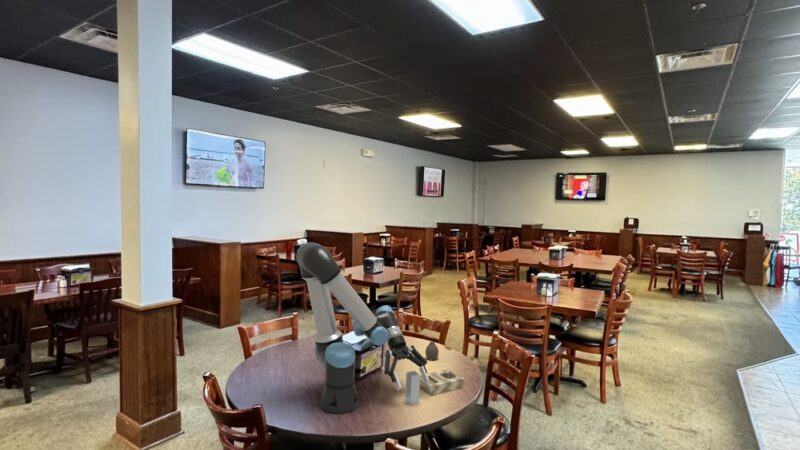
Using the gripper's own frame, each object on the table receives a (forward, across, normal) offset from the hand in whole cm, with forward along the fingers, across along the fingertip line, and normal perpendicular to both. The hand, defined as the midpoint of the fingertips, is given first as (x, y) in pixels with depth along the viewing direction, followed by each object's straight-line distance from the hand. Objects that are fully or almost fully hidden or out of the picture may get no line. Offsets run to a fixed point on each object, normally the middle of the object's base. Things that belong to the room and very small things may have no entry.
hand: (413, 385), depth 174 cm
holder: (0, +18, +10) cm, 21 cm away
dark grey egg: (-20, +35, +30) cm, 50 cm away
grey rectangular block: (+5, -1, +5) cm, 7 cm away
